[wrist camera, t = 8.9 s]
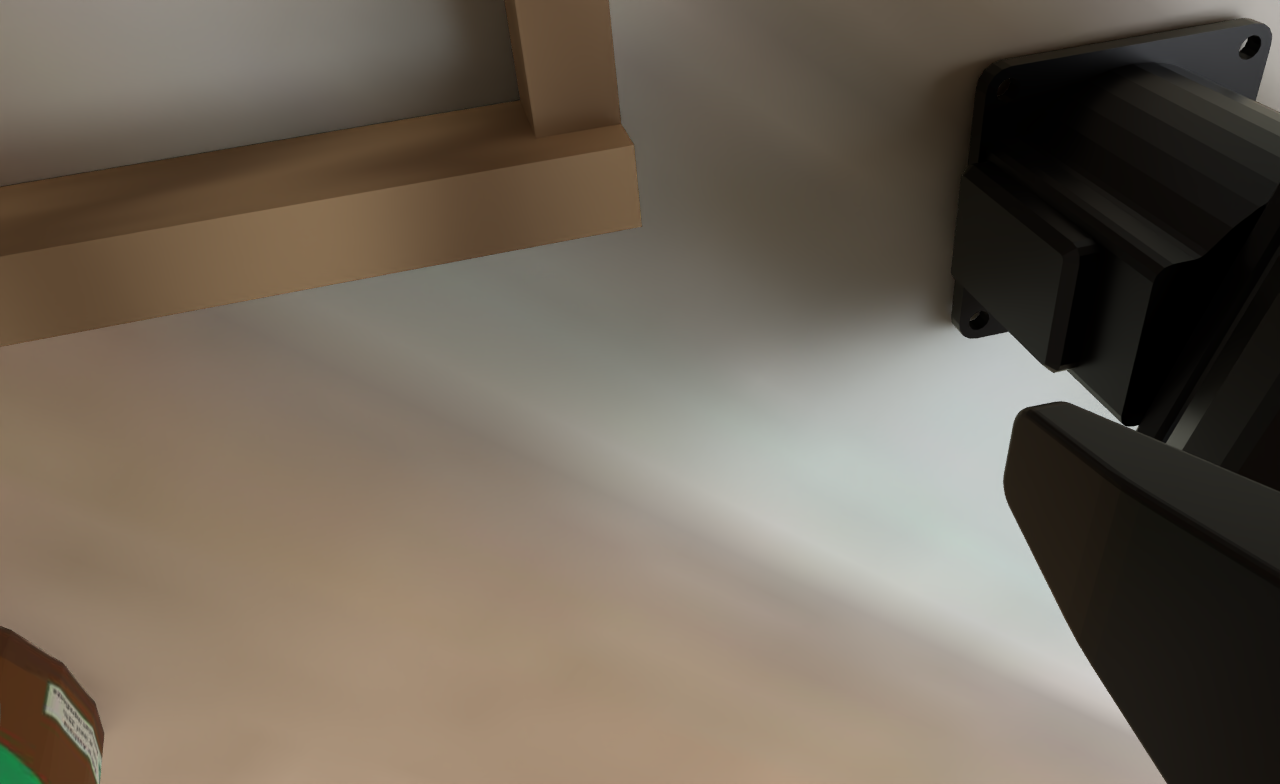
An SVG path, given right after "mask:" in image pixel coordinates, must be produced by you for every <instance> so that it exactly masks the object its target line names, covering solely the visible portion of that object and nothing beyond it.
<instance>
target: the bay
mask: <svg viewBox="0 0 1280 784" xmlns="http://www.w3.org/2000/svg"><path fill="white" fill-rule="evenodd" d="M504 2H505V9H506V15H507V21H508V28H509V34H510V40H511V46H512V53H513V59H514V65H515V71H516V78H517V84H518V90H519V96H520V100H517V101H511V102H505V103H500V104H494V105H488V106H482V107H476V108H470V109H464V110H458V111H452V112H446V113H440V114H434V115H428V116H422V117H416V118H410V119H404V120H398V121H392V122H386V123H380V124H374V125H368V126H362V127H356V128H350V129H344V130H338V131H332V132H326V133H320V134H314V135H308V136H302V137H296V138H290V139H284V140H278V141H272V142H266V143H260V144H254V145H248V146H242V147H236V148H230V149H224V150H218V151H212V152H206V153H200V154H194V155H189V156H183V157H177V158H171V159H165V160H159V161H153V162H147V163H141V164H135V165H129V166H123V167H117V168H111V169H105V170H99V171H93V172H87V173H81V174H75V175H69V176H63V177H57V178H51V179H45V180H39V181H33V182H27V183H21V184H15V185H9V186H3V187H0V347H2V346H7V345H12V344H18V343H23V342H28V341H34V340H39V339H44V338H50V337H55V336H60V335H66V334H71V333H76V332H82V331H87V330H92V329H98V328H103V327H108V326H114V325H119V324H124V323H130V322H135V321H140V320H146V319H151V318H156V317H162V316H167V315H173V314H178V313H183V312H189V311H194V310H199V309H205V308H210V307H215V306H221V305H226V304H231V303H237V302H242V301H247V300H253V299H258V298H263V297H269V296H274V295H279V294H285V293H290V292H295V291H301V290H306V289H311V288H317V287H322V286H327V285H333V284H338V283H343V282H349V281H354V280H359V279H365V278H370V277H375V276H381V275H386V274H391V273H397V272H402V271H407V270H413V269H418V268H423V267H429V266H434V265H439V264H445V263H450V262H455V261H461V260H466V259H471V258H477V257H482V256H487V255H493V254H498V253H503V252H509V251H514V250H519V249H525V248H530V247H535V246H541V245H546V244H551V243H557V242H562V241H567V240H573V239H578V238H583V237H589V236H594V235H599V234H605V233H610V232H615V231H621V230H626V229H631V228H637V227H642V223H641V213H640V202H639V191H638V181H637V170H636V160H635V149H634V144H633V142H632V141H631V139H630V138H629V136H628V134H627V133H626V131H625V129H624V128H623V126H622V125H621V118H620V108H619V98H618V88H617V78H616V69H615V59H614V49H613V39H612V29H611V19H610V9H609V0H504Z"/></svg>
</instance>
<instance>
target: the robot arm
mask: <svg viewBox="0 0 1280 784" xmlns="http://www.w3.org/2000/svg"><path fill="white" fill-rule="evenodd" d="M1247 38H1248V41H1247V43H1246V45H1245V47H1244V48H1243V49H1242V50H1241V51H1240V52H1239V49H1240V46H1241V44H1242V43H1243V42H1244V41H1245V40H1246V39H1247ZM1271 40H1272V33H1271V30H1270V28H1269V27H1268V26H1266V25H1265V24H1263V23H1261V22H1258V21H1255V20H1253V19H1248V18H1241V19H1236V20H1230V21H1224V22H1218V23H1212V24H1207V25H1201V26H1195V27H1189V28H1184V29H1178V30H1172V31H1166V32H1160V33H1155V34H1149V35H1143V36H1137V37H1132V38H1126V39H1120V40H1114V41H1108V42H1103V43H1097V44H1091V45H1085V46H1080V47H1074V48H1068V49H1062V50H1056V51H1051V52H1045V53H1039V54H1033V55H1028V56H1022V57H1016V58H1010V59H1004V60H1000V61H998V62H995V63H992V64H991V65H990V66H989V67H988V68H986V69H985V70H984V72H983V73H982V75H981V76H980V78H979V80H978V83H977V87H976V93H975V102H974V112H973V121H972V130H971V139H970V148H969V158H968V166H967V168H966V169H965V171H964V173H963V175H962V176H961V182H960V191H959V201H958V210H957V220H956V229H955V239H954V248H953V258H952V267H951V274H952V276H953V277H954V278H955V286H954V296H953V305H952V314H951V318H952V323H953V325H954V326H955V327H956V328H957V329H958V331H959V332H960V333H961V334H962V335H963V336H965V337H967V338H970V339H971V338H981V337H985V336H990V335H995V334H999V333H1004V332H1010V333H1011V334H1012V335H1013V336H1014V337H1015V338H1016V339H1017V340H1018V341H1019V342H1020V343H1021V344H1022V345H1023V346H1024V347H1025V348H1026V349H1027V350H1028V351H1029V352H1030V353H1031V354H1032V355H1033V356H1034V357H1035V358H1036V359H1037V360H1038V361H1039V362H1040V363H1041V364H1042V365H1043V366H1045V367H1046V368H1047V369H1048V370H1050V371H1051V372H1053V373H1055V372H1060V371H1065V370H1067V371H1068V372H1069V373H1070V374H1071V375H1072V376H1073V377H1074V378H1075V379H1076V380H1077V381H1078V382H1080V383H1081V384H1082V385H1083V386H1084V387H1085V388H1086V389H1087V390H1088V391H1089V392H1090V393H1091V394H1092V395H1093V396H1094V397H1095V398H1096V399H1097V400H1098V401H1099V402H1100V403H1101V404H1102V405H1103V406H1104V407H1106V408H1107V409H1108V410H1109V411H1110V412H1111V413H1112V414H1113V415H1114V416H1115V417H1116V418H1117V419H1118V420H1119V421H1120V422H1121V423H1122V424H1123V425H1125V426H1137V425H1139V426H1138V428H1137V429H1136V431H1135V430H1133V429H1130V428H1128V427H1125V426H1123V425H1121V424H1118V423H1116V422H1114V421H1111V420H1109V419H1106V418H1104V417H1102V416H1099V415H1097V414H1095V413H1092V412H1090V411H1087V410H1085V409H1083V408H1080V407H1078V406H1076V405H1073V404H1071V403H1068V402H1062V401H1061V402H1052V403H1047V404H1042V405H1037V406H1032V407H1027V408H1025V409H1023V410H1021V411H1020V412H1019V413H1018V414H1017V416H1016V418H1015V420H1014V424H1013V428H1012V434H1011V439H1010V445H1009V450H1008V455H1007V461H1006V466H1005V471H1004V479H1003V484H1004V492H1005V496H1006V500H1007V502H1008V505H1009V507H1010V509H1011V511H1012V513H1013V515H1014V517H1015V519H1016V521H1017V523H1018V525H1019V527H1020V529H1021V531H1022V533H1023V535H1024V537H1025V539H1026V541H1027V543H1028V545H1029V547H1030V549H1031V551H1032V554H1033V556H1034V558H1035V560H1036V562H1037V564H1038V566H1039V568H1040V570H1041V572H1042V574H1043V576H1044V578H1045V580H1046V582H1047V584H1048V586H1049V588H1050V590H1051V592H1052V594H1053V596H1054V598H1055V600H1056V602H1057V604H1058V606H1059V608H1060V610H1061V612H1062V614H1063V616H1064V618H1065V620H1066V622H1067V624H1068V626H1069V628H1070V629H1071V631H1072V633H1073V635H1074V637H1075V639H1076V641H1077V642H1078V644H1079V646H1080V647H1081V649H1082V651H1083V652H1084V654H1085V656H1086V657H1087V659H1088V661H1089V662H1090V664H1091V666H1092V667H1093V669H1094V670H1095V672H1096V673H1097V675H1098V677H1099V678H1100V680H1101V681H1102V683H1103V684H1104V686H1105V687H1106V689H1107V691H1108V692H1109V694H1110V695H1111V697H1112V698H1113V700H1114V702H1115V703H1116V705H1117V706H1118V708H1119V709H1120V711H1121V712H1122V714H1123V716H1124V717H1125V719H1126V720H1127V722H1128V723H1129V725H1130V727H1131V728H1132V730H1133V731H1134V733H1135V734H1136V736H1137V737H1138V739H1139V741H1140V742H1141V744H1142V745H1143V747H1144V748H1145V750H1146V752H1147V753H1148V755H1149V756H1150V758H1151V759H1152V761H1153V762H1154V764H1155V766H1156V767H1157V769H1158V770H1159V772H1160V773H1161V775H1162V777H1163V778H1164V780H1165V781H1166V783H1167V784H1280V112H1278V111H1276V110H1274V109H1271V108H1269V107H1267V106H1265V105H1263V104H1261V103H1259V102H1256V97H1257V94H1258V90H1259V86H1260V83H1261V79H1262V75H1263V72H1264V68H1265V64H1266V61H1267V57H1268V54H1269V50H1270V46H1271ZM1009 78H1010V84H1009V87H1008V89H1007V90H1006V91H1005V92H1004V93H1003V94H1002V95H999V96H997V91H998V88H999V86H1000V85H1001V83H1002V82H1003V81H1004V80H1007V79H1009ZM979 311H980V314H979V315H978V316H977V317H976V318H975V319H974V320H971V321H970V318H971V317H972V316H973V315H974V314H975V313H977V312H979ZM0 721H1V704H0Z"/></svg>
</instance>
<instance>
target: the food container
mask: <svg viewBox="0 0 1280 784" xmlns="http://www.w3.org/2000/svg"><path fill="white" fill-rule="evenodd" d="M0 704H1V721H0V784H100V776H101V764H102V753H103V742H104V731H103V728H102V724H101V721H100V717H99V714H98V710H97V707H96V704H95V702H94V701H93V700H92V698H91V697H90V696H89V695H88V693H87V692H86V691H85V690H84V688H83V687H82V686H81V685H80V683H79V682H78V681H77V680H76V679H75V677H74V676H73V675H72V674H71V672H70V671H69V670H68V669H67V667H66V666H65V665H64V664H63V663H62V662H60V661H58V660H57V659H55V658H54V657H52V656H51V655H49V654H47V653H46V652H44V651H43V650H41V649H40V648H38V647H37V646H35V645H33V644H32V643H30V642H29V641H27V640H26V639H24V638H23V637H21V636H19V635H18V634H16V633H15V632H13V631H12V630H9V629H6V628H3V627H0Z"/></svg>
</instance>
